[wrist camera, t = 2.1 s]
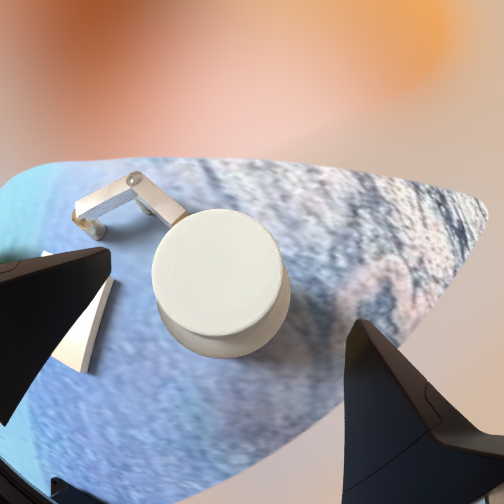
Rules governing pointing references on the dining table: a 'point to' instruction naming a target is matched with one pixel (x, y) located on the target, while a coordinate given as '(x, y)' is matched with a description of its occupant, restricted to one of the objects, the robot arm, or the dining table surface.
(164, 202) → the bent steel bracket
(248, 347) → the supplement bottle
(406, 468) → the robot arm
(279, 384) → the dining table surface
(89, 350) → the cream coaster
